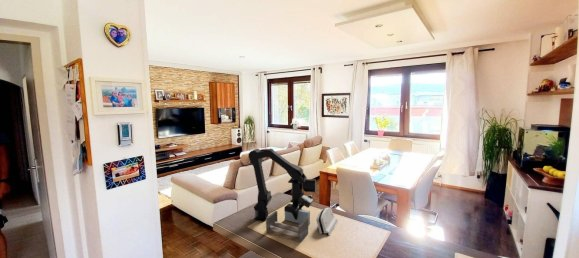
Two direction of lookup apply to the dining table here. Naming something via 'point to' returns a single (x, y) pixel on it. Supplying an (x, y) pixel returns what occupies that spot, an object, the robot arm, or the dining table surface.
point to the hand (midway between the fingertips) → (297, 218)
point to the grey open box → (286, 229)
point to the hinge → (326, 221)
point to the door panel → (301, 216)
